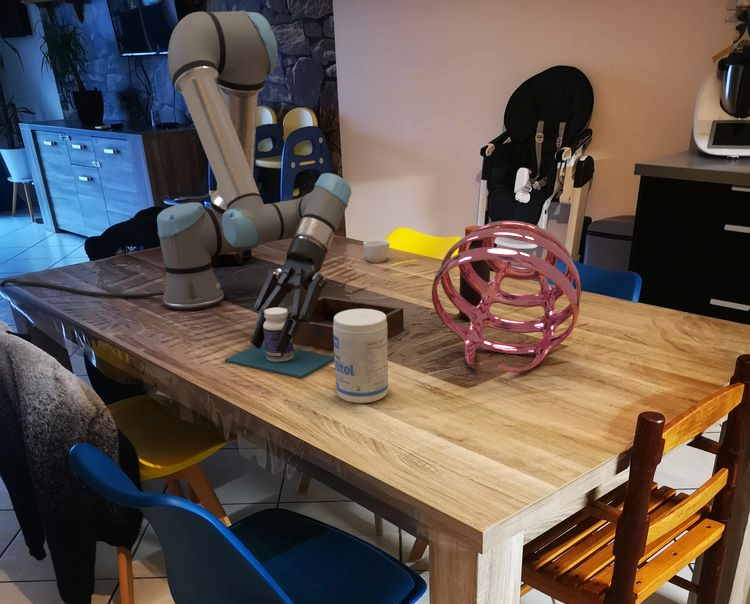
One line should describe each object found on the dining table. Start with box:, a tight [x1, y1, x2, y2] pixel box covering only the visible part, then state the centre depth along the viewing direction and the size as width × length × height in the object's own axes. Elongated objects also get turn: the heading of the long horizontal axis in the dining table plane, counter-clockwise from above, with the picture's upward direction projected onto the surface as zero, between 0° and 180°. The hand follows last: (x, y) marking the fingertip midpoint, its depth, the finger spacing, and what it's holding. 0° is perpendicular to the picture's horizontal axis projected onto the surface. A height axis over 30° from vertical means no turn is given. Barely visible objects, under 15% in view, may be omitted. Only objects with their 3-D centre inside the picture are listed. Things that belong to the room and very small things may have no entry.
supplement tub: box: [332, 309, 389, 404], centre depth 134 cm, size 10×10×15 cm
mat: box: [224, 341, 335, 379], centre depth 154 cm, size 20×12×1 cm, turn 57°
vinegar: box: [458, 225, 491, 322], centre depth 169 cm, size 7×7×20 cm
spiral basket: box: [431, 220, 583, 374], centre depth 142 cm, size 28×28×27 cm
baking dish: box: [211, 249, 253, 268], centre depth 228 cm, size 14×18×10 cm
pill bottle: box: [263, 307, 294, 362], centre depth 152 cm, size 6×6×10 cm
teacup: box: [362, 239, 390, 264], centre depth 223 cm, size 10×8×5 cm
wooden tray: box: [287, 295, 405, 351], centre depth 166 cm, size 22×18×5 cm
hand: (267, 347), depth 150 cm, fingers closed on pill bottle, 6 cm apart
